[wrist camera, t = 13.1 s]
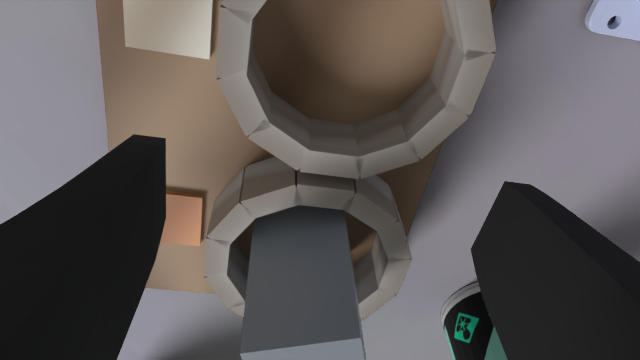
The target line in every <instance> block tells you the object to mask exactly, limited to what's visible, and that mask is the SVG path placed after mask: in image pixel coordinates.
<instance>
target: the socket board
mask: <svg viewBox="0 0 640 360" xmlns="http://www.w3.org/2000/svg"><path fill="white" fill-rule="evenodd" d="M496 3H497V0H96V8H97V19H98V31H99V42H100V54H101V66H102V77H103V89H104V100H105V112H106V123H107V135H108V146H109V152H110V151H111V150H113V149H114V148H115V147H117V146H118V145H119V144H121V143H122V142H124V141H125V140H126V139H128V138H129V137H131V136H132V135H133V134H136V135H144V136H152V137H160V138H166V220H165V224H164V228H163V233H162V237H161V241H160V245H159V249H158V253H157V256H156V260H155V263H154V265H153V268H152V271H151V273H150V276H149V279H148V281H147V284H146V286H145V288H153V289H165V290H176V291H188V292H199V293H211V294H217V296H218V297H219V299H220V300H221V301H222V303H223V304H224V305H225V307H226V308H227V309H229V310H230V311H232V312H234V313H236V314H238V315H240V316H242V317H244V308H245V298H246V289H247V280H248V270H249V261H250V251H251V242H252V233H253V223H254V220H255V218H258V217H261V216H264V215H268V214H271V213H274V212H277V211H281V210H284V209H287V208H290V207H294V206H297V205H304V206H313V207H322V208H330V209H339V210H345V215H346V222H347V228H348V234H349V240H350V247H351V253H352V260H353V268H354V275H355V283H356V290H357V297H358V305H359V312H360V319H362V320H364V319H365V318H367V317H368V316H369V315H371V314H372V313H373V312H375V311H376V310H377V309H379V308H380V307H381V306H383V305H384V304H386V303H387V302H388V301H390V300H391V299H392V298H394V297H395V296H396V294H398V292H399V289H400V287H401V284H402V282H403V279H404V277H405V275H406V272H407V270H408V267H409V265H410V262H411V260H412V259H411V258H412V257H411V254H410V250H409V246H408V243H407V239H406V236H407V233H408V231H409V228H410V226H411V223H412V221H413V218H414V215H415V213H416V210H417V208H418V205H419V202H420V200H421V197H422V195H423V192H424V189H425V187H426V184H427V182H428V179H429V176H430V174H431V171H432V169H433V166H434V164H435V161H436V158H437V156H438V153H439V151H440V148H441V145H442V143H443V140H444V139H446V138H447V137H448V136H449V135H450V134H451V133H452V132H453V131H455V130H456V129H457V128H458V127H459V126H460V125H461V124H462V123H464V122H465V121H466V120H467V119H468V118H469V117H468V115H471V114H472V111H473V109H474V106H475V104H476V101H477V99H478V96H479V94H480V92H481V89H482V87H483V84H484V82H485V79H486V77H487V75H488V72H489V70H490V67H491V65H492V62H493V60H494V57H495V55H496V54H495V52H494V51H496V45H495V38H494V31H493V23H492V13H493V11H494V8H495V5H496Z"/></svg>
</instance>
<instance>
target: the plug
mask: <svg viewBox="0 0 640 360" xmlns="http://www.w3.org/2000/svg"><path fill="white" fill-rule="evenodd" d="M240 356H241V358H242V360H366V356H365V349H364V341H363V334H362V327H361V319H360V312H359V305H358V297H357V290H356V283H355V275H354V268H353V260H352V253H351V247H350V240H349V234H348V228H347V222H346V215H345V210H339V209H330V208H322V207H313V206H304V205H297V206H294V207H290V208H287V209H284V210H281V211H277V212H274V213H271V214H268V215H264V216H261V217H258V218H255V220H254V223H253V233H252V242H251V251H250V261H249V270H248V280H247V289H246V298H245V308H244V317H243V327H242V336H241V345H240Z"/></svg>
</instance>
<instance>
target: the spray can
mask: <svg viewBox="0 0 640 360" xmlns="http://www.w3.org/2000/svg"><path fill="white" fill-rule="evenodd" d="M441 319H442V324H443V328H444V331H445V335H446V338H447V341H448V345H449V348H450V351H451V355H452V358H453V360H508V359H507V357H506V354H505V352H504V349H503V347H502V344H501V342H500V339H499V337H498V334H497V332H496V329H495V327H494V324H493V322H492V319H491V317H490V314H489V311H488V309H487V306H486V304H485V301H484V299H483V296H482V293H481V290H480V287H479V283H478V282H476V283H473V284H470V285H468V286H466V287H464V288H462V289H460V290H459V291H457V292H456V293H454V294H453V295H452V296H451V297H450V298H449V299H448V300H447V301H446V303H445V304H444V306H443V309H442V311H441Z"/></svg>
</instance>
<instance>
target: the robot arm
mask: <svg viewBox="0 0 640 360" xmlns="http://www.w3.org/2000/svg"><path fill="white" fill-rule="evenodd" d="M613 16H616V19H615V21H614V22H613V24H611V25H609V26H607V24H608V21H609V20H610V18H612V17H613ZM585 25H586V27H587V28H588V29H589V30H591V31H593V32H595V33H600V34H605V35H611V36H616V37H622V38H627V39H633V40H638V41H640V0H594V1H593V3H592V5H591V7H590V9H589V11H588V13H587V15H586V18H585ZM165 220H166V138H160V137H152V136H144V135H136V134H133V135H132V136H131V137H129V138H128V139H126V140H125V141H124V142H122V143H121V144H119V145H118V146H117V147H115V148H114V149H113V150H111V151H110V152H109V153H107V154H106V155H105V156H103V157H102V158H101V159H99V160H98V161H96V162H95V163H94V164H92V165H91V166H90V167H88V168H87V169H86V170H84V171H83V172H81V173H80V174H78V175H77V176H76V177H74V178H73V179H71V180H70V181H69V182H67V183H66V184H64V185H63V186H61V187H60V188H59V189H57V190H55V191H54V192H52V193H51V194H49V195H48V196H46V197H44V198H43V199H41V200H40V201H38V202H36V203H35V204H33V205H32V206H30V207H29V208H27V209H25V210H24V211H22V212H21V213H19V214H18V215H16V216H14V217H12V218H11V219H9V220H7V221H6V222H4V223H2V224H0V360H117V357H118V355H119V352H120V350H121V347H122V345H123V342H124V340H125V337H126V335H127V332H128V330H129V327H130V324H131V322H132V319H133V317H134V314H135V312H136V309H137V307H138V304H139V302H140V299H141V297H142V294H143V291H144V289H145V286H146V284H147V281H148V279H149V276H150V273H151V271H152V268H153V265H154V263H155V260H156V256H157V253H158V249H159V245H160V241H161V237H162V233H163V228H164V224H165ZM471 252H472V257H473V262H474V266H475V271H476V275H477V279H478V283H479V287H480V290H481V293H482V296H483V299H484V301H485V304H486V306H487V309H488V311H489V314H490V317H491V319H492V322H493V324H494V327H495V329H496V332H497V334H498V337H499V339H500V342H501V344H502V347H503V349H504V352H505V354H506V357H507V359H508V360H640V262H639V261H637V260H636V259H635V258H633V257H632V256H630V255H629V254H628V253H626V252H625V251H623V250H622V249H621V248H619V247H618V246H616V245H615V244H614V243H612V242H611V241H610V240H608V239H607V238H606V237H604V236H603V235H602V234H600V233H599V232H598V231H596V230H595V229H593V228H592V227H591V226H589V225H588V224H587V223H585V222H584V221H583V220H581V219H580V218H579V217H577V216H576V215H575V214H573V213H572V212H571V211H569V210H568V209H566V208H565V207H564V206H562V205H561V204H560V203H558V202H557V201H555V200H554V199H552V198H551V197H550V196H548V195H547V194H545V193H544V192H542V191H540V190H539V189H537V188H535V187H534V186H532V185H529V184H521V183H514V182H506V181H505V182H504V184H503V186H502V188H501V190H500V192H499V194H498V196H497V198H496V200H495V202H494V204H493V206H492V208H491V210H490V212H489V214H488V216H487V218H486V220H485V222H484V224H483V226H482V228H481V230H480V232H479V234H478V236H477V238H476V240H475V242H474V244H473V246H472V248H471Z"/></svg>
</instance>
